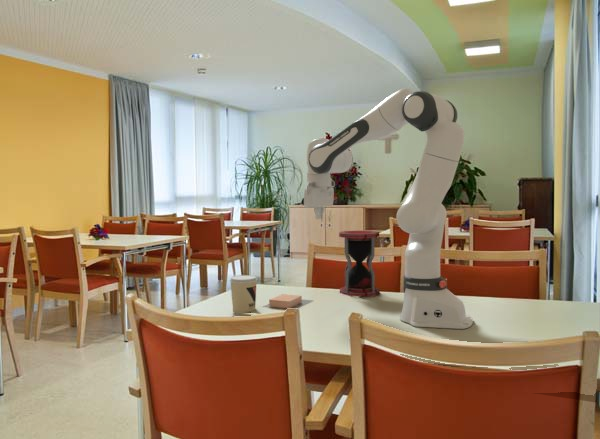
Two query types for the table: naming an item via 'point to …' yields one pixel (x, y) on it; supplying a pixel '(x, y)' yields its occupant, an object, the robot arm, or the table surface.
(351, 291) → the hourglass
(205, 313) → the table surface
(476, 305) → the table surface
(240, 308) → the coffee cup
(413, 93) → the robot arm
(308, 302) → the slate board
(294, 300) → the picture frame
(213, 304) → the table surface
